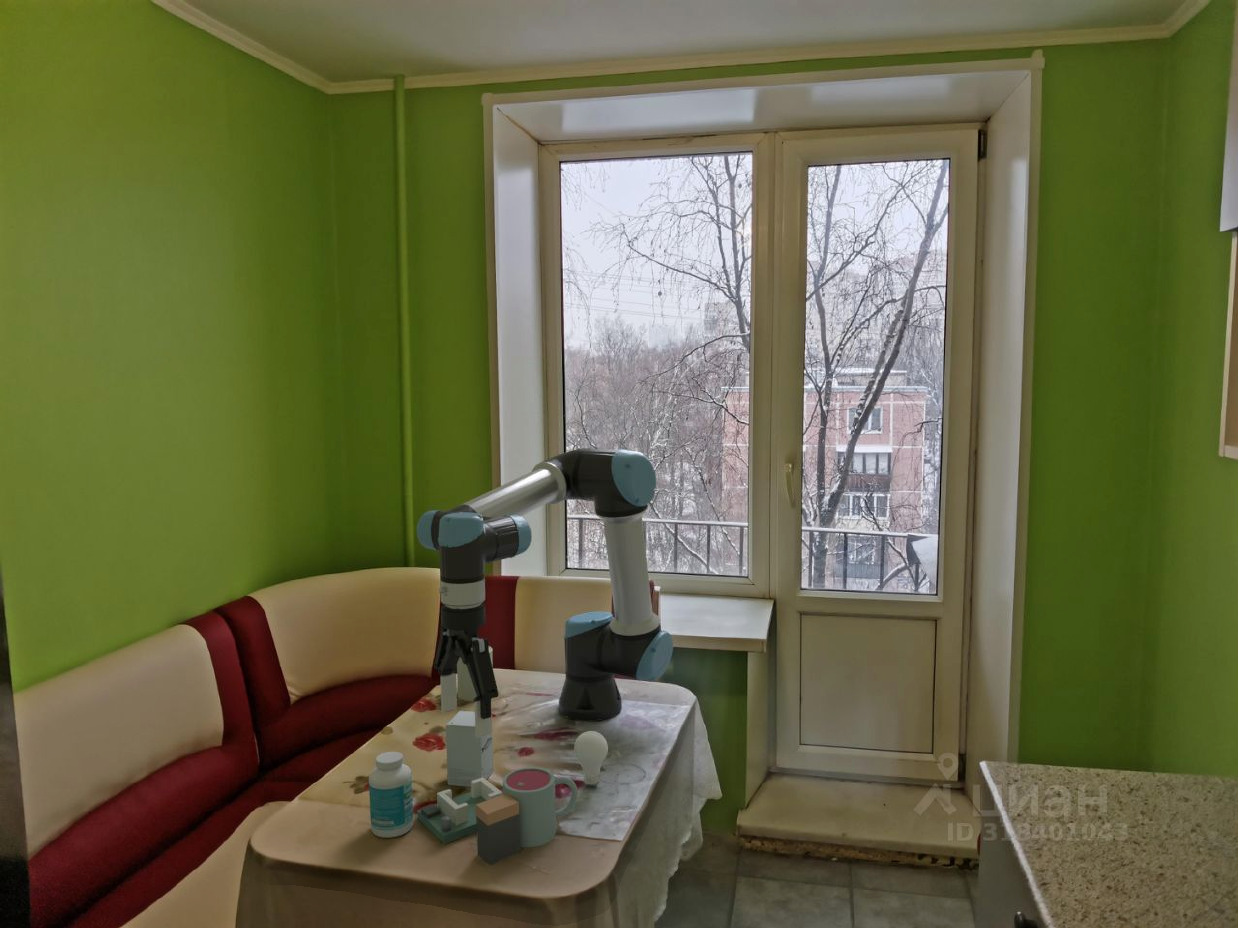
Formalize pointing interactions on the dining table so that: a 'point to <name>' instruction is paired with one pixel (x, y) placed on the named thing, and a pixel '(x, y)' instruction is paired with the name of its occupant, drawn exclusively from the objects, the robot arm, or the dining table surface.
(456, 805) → the board
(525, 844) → the mug
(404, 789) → the pill bottle
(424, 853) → the dining table surface
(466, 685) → the can
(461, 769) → the supplement box
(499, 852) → the plug
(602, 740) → the light bulb
